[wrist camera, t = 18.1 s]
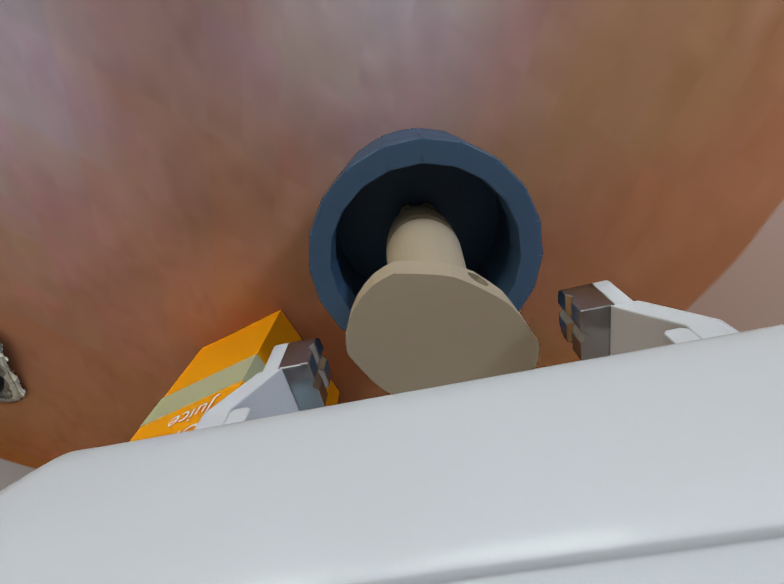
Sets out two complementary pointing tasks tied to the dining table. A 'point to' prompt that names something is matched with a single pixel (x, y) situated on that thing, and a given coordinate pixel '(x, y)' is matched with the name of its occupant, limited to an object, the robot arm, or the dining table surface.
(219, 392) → the orange juice
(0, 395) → the mineral rock
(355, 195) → the jar
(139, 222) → the dining table surface
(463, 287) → the handle
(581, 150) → the dining table surface
